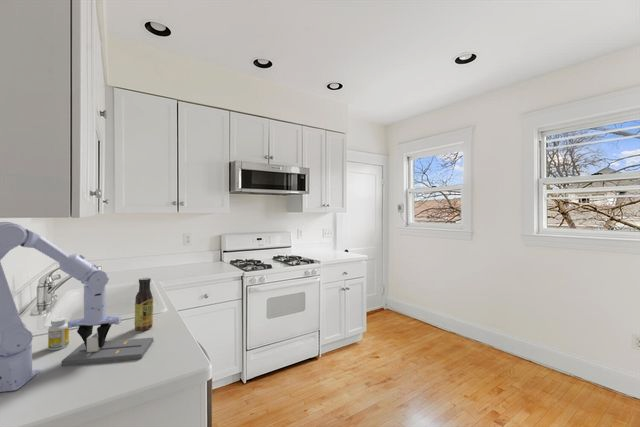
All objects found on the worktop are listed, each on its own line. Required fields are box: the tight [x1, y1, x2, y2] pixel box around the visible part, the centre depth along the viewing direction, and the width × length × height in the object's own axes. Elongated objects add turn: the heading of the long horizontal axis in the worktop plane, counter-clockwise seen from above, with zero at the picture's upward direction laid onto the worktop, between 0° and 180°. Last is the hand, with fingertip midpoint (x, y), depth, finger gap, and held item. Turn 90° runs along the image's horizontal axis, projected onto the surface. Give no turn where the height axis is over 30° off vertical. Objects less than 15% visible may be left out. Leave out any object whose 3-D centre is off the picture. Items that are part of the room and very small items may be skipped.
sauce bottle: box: [134, 277, 154, 332], centre depth 118 cm, size 6×6×20 cm
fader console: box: [60, 336, 154, 367], centre depth 99 cm, size 12×22×2 cm, turn 103°
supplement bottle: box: [47, 316, 70, 351], centre depth 102 cm, size 5×5×10 cm
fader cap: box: [87, 332, 100, 352], centre depth 98 cm, size 4×3×5 cm
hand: (95, 346), depth 98 cm, fingers closed on fader cap, 3 cm apart
